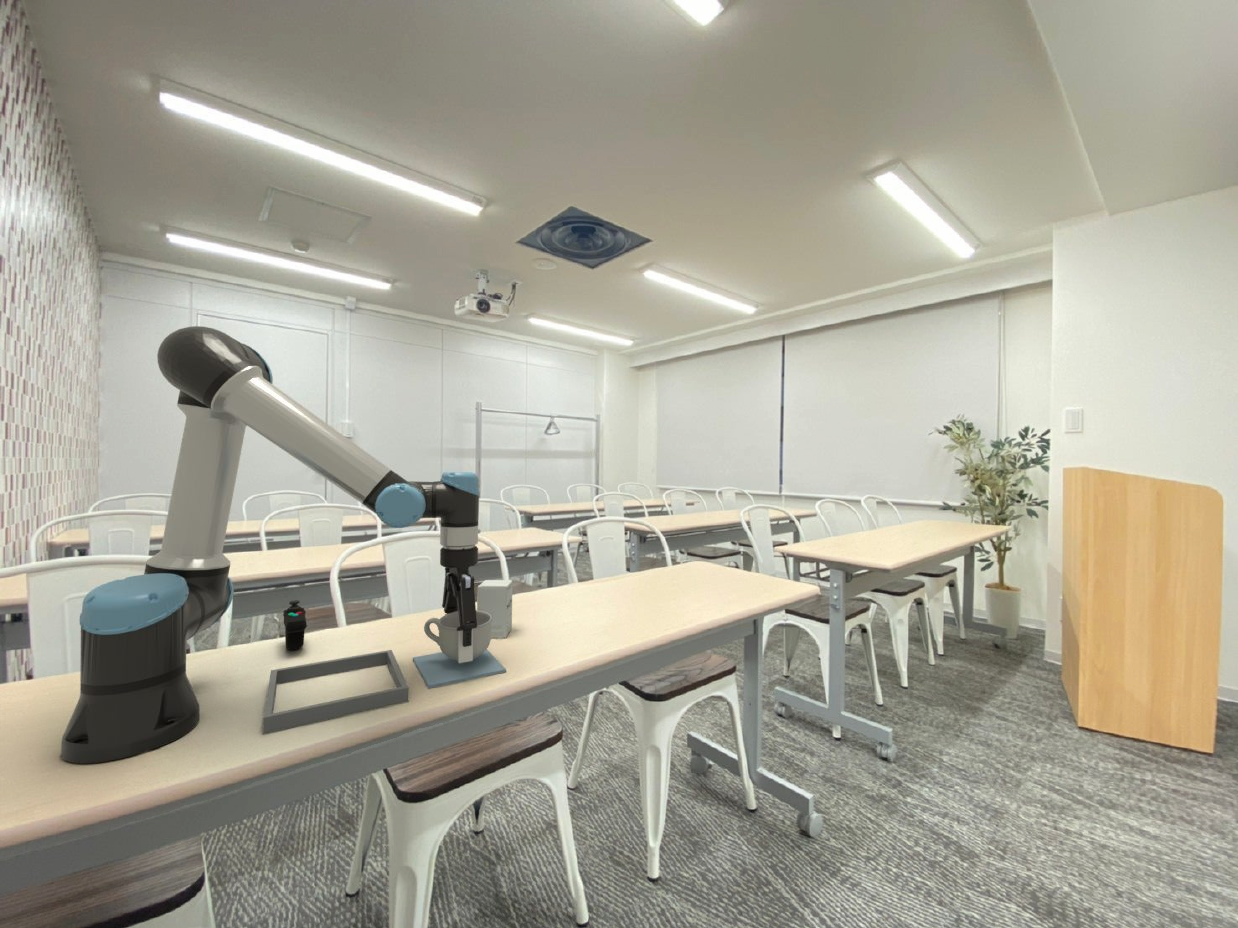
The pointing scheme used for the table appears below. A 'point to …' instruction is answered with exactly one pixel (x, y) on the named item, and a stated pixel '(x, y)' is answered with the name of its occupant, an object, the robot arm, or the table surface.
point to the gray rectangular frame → (335, 707)
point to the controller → (294, 625)
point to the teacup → (450, 634)
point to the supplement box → (496, 605)
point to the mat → (455, 668)
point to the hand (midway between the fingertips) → (457, 652)
